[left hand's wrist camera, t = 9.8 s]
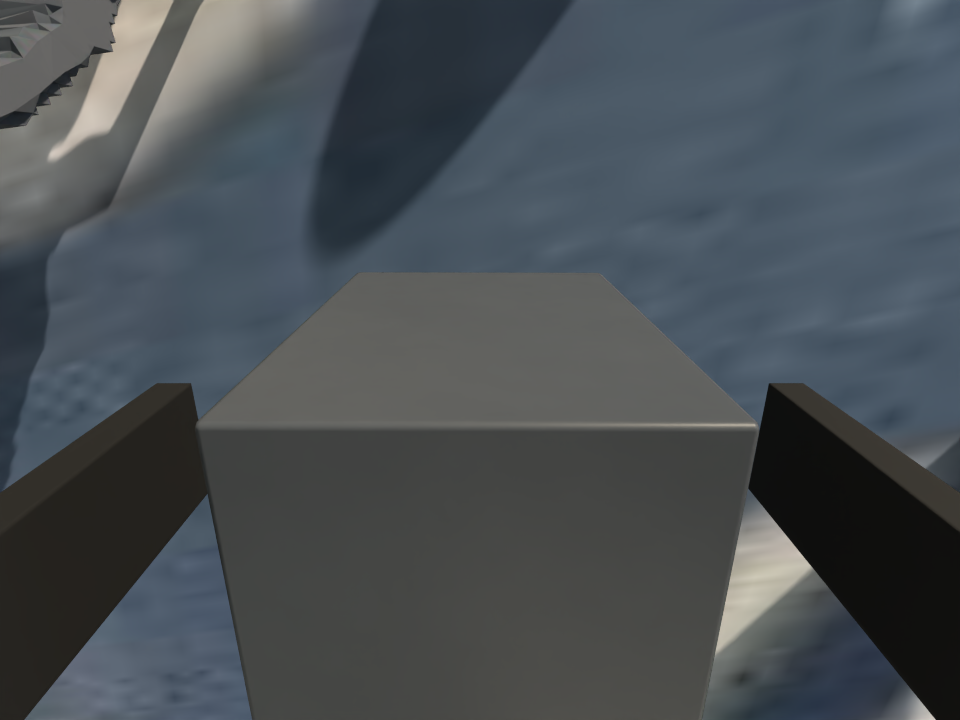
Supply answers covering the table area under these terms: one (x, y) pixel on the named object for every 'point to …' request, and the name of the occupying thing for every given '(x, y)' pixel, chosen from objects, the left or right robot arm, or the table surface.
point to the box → (477, 506)
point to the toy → (47, 50)
